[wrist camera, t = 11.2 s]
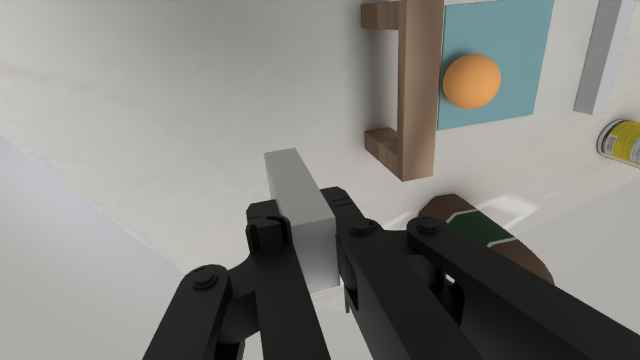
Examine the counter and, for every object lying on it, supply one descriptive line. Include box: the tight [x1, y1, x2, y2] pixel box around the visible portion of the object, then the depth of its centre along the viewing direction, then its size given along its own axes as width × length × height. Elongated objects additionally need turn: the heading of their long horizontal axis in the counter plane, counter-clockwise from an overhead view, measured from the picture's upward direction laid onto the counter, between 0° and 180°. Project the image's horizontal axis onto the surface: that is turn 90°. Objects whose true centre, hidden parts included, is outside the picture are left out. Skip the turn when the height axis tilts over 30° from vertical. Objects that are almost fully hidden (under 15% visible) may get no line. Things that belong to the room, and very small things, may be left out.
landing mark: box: [437, 0, 554, 130], centre depth 39 cm, size 13×13×1 cm
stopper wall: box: [574, 0, 637, 115], centre depth 40 cm, size 14×2×2 cm, turn 5°
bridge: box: [361, 0, 444, 182], centre depth 32 cm, size 3×14×9 cm, turn 5°
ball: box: [443, 54, 501, 109], centre depth 36 cm, size 6×6×6 cm
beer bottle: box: [419, 194, 555, 285], centre depth 36 cm, size 8×8×24 cm
